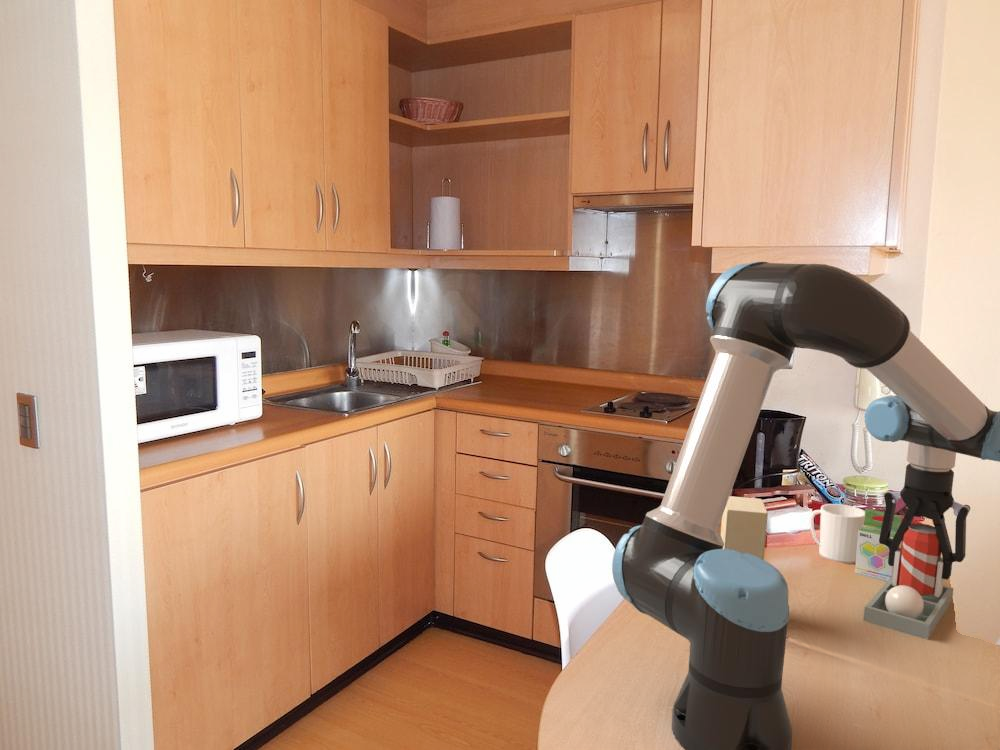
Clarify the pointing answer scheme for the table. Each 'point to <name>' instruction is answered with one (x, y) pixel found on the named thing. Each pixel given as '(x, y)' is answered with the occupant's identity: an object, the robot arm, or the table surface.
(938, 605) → the tray
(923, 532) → the beverage can
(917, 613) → the egg
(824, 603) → the table surface
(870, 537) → the ink box
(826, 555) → the mug
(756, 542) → the beige tall block
